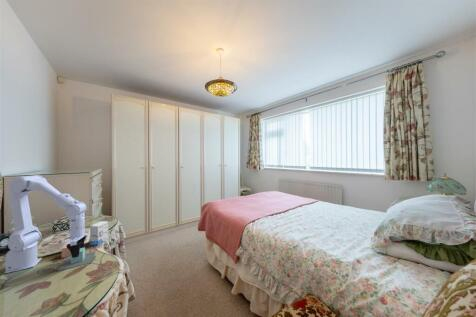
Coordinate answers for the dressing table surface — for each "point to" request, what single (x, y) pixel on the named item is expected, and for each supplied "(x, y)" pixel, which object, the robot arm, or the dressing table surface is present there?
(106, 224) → the ink box
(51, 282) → the dressing table surface
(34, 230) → the robot arm
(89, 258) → the mat
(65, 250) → the peach block
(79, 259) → the teal brick
